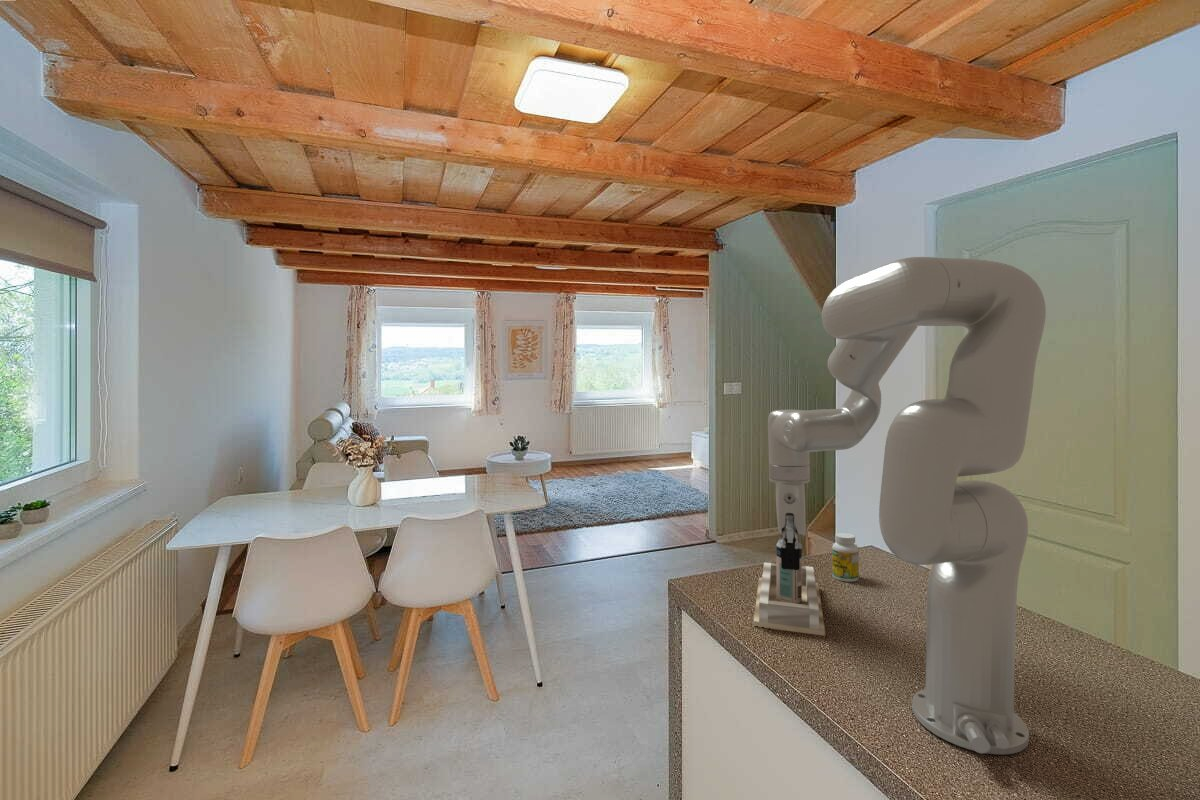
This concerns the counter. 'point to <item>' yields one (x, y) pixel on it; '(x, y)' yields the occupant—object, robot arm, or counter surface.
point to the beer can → (789, 579)
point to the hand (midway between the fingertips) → (790, 560)
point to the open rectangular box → (789, 604)
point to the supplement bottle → (845, 558)
